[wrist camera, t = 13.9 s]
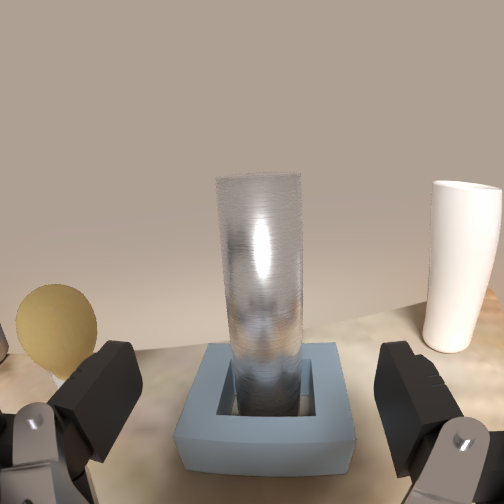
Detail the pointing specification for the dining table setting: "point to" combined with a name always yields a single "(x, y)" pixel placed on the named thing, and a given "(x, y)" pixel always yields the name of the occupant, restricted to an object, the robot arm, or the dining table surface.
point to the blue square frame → (267, 422)
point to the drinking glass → (459, 260)
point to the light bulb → (57, 329)
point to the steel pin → (263, 288)
